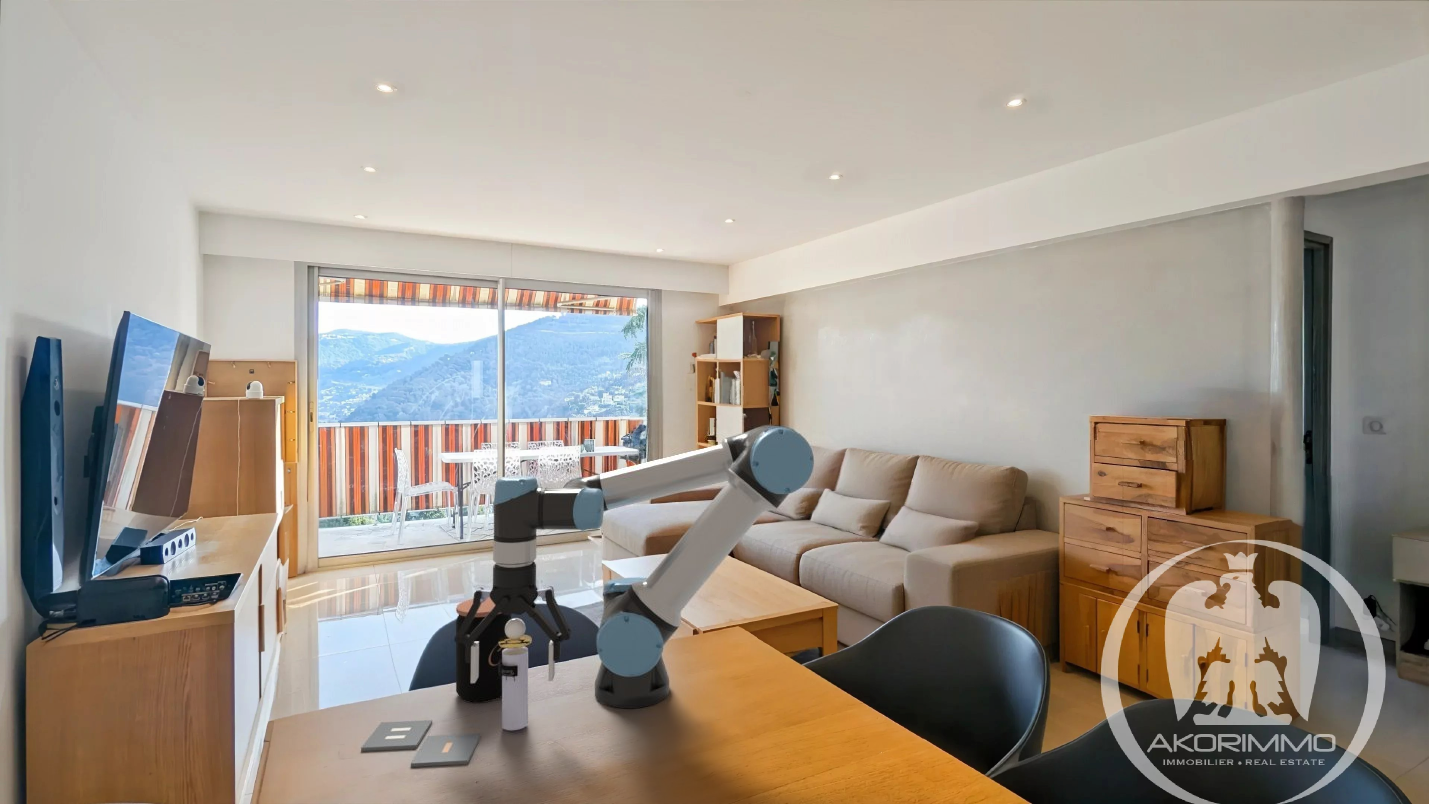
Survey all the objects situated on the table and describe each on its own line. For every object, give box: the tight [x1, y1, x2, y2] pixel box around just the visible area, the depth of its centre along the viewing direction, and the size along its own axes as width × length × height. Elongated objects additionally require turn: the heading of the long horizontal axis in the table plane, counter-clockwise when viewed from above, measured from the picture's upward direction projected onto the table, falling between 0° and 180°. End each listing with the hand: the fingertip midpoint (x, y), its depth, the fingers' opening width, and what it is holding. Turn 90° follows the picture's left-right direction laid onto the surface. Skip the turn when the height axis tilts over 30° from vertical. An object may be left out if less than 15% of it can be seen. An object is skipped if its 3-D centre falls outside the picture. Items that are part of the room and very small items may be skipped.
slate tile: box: [410, 732, 482, 768], centre depth 116 cm, size 9×9×1 cm
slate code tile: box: [360, 719, 433, 752], centre depth 121 cm, size 9×9×1 cm
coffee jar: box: [455, 597, 512, 704], centre depth 139 cm, size 11×11×18 cm
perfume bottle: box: [499, 617, 532, 731], centre depth 124 cm, size 6×6×20 cm
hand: (513, 679), depth 124 cm, fingers open, 13 cm apart
